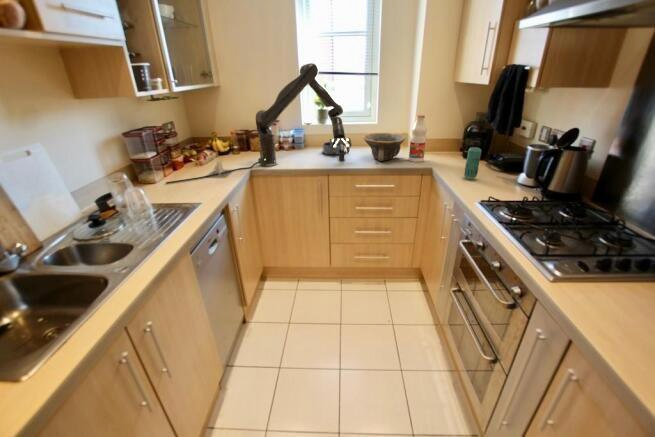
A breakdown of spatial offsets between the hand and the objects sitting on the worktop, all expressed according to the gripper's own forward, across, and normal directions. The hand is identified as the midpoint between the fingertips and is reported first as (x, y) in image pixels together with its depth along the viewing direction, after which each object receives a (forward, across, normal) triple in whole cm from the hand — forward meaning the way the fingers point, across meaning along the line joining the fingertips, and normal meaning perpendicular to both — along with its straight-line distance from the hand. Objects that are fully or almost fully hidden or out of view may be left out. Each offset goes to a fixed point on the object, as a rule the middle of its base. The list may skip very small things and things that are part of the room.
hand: (342, 152), depth 206 cm
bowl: (+6, +28, +2) cm, 28 cm away
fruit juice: (+12, +47, -4) cm, 49 cm away
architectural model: (+12, -76, -5) cm, 78 cm away
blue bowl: (-14, -1, +21) cm, 25 cm away
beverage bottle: (+42, +59, -34) cm, 80 cm away
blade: (+3, 0, +5) cm, 5 cm away
